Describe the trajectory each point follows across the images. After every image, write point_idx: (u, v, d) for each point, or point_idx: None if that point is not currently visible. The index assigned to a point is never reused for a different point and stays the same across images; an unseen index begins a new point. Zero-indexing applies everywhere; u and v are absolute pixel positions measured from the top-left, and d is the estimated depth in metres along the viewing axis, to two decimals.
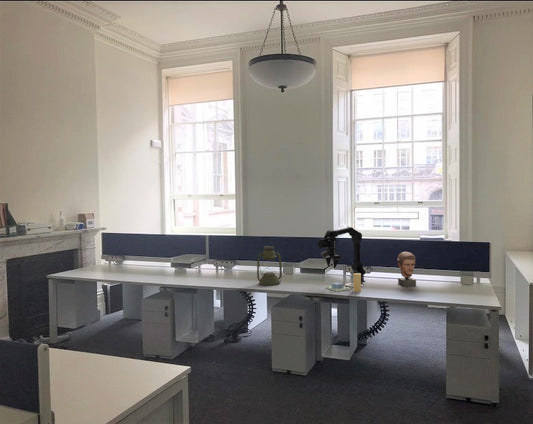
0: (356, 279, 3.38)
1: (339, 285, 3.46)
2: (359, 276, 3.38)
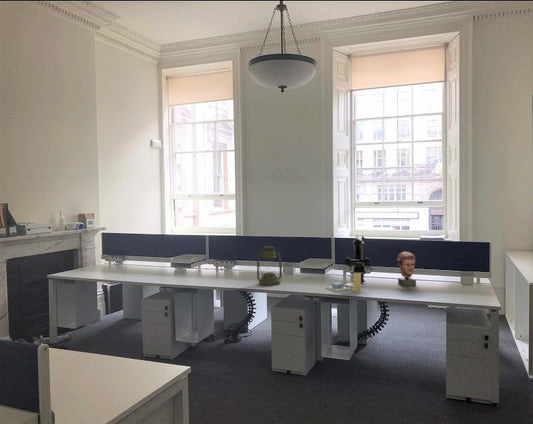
0: (356, 279, 3.38)
1: (339, 285, 3.46)
2: (359, 276, 3.38)
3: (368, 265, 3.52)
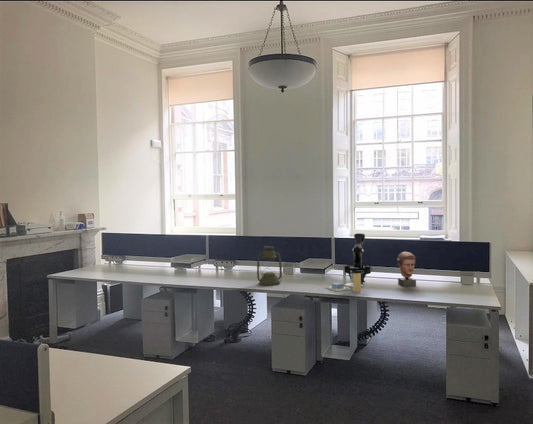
0: (356, 279, 3.38)
1: (339, 285, 3.46)
2: (359, 276, 3.38)
3: (368, 273, 3.45)
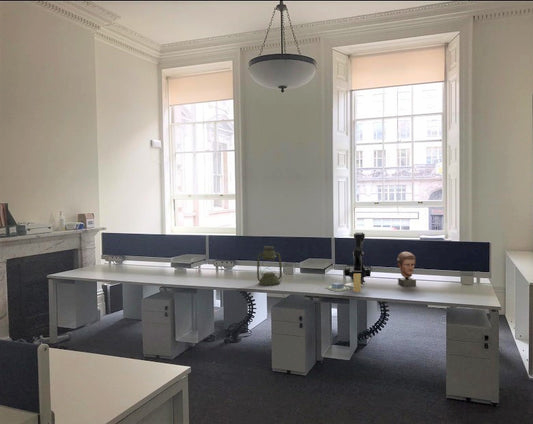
0: (356, 279, 3.38)
1: (339, 285, 3.46)
2: (359, 276, 3.38)
3: (365, 276, 3.44)
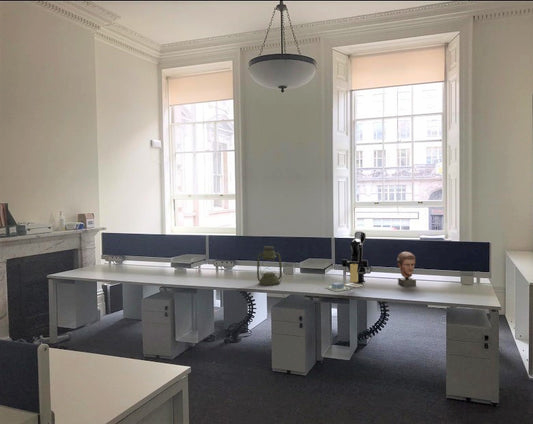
0: (353, 270, 3.39)
1: (339, 285, 3.46)
2: (356, 266, 3.38)
3: (362, 267, 3.44)
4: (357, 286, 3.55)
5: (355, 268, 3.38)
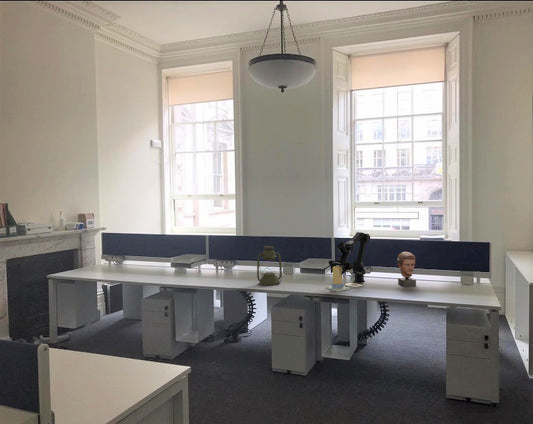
0: (335, 272, 3.47)
1: (339, 285, 3.46)
2: (337, 269, 3.45)
3: (349, 269, 3.47)
4: (357, 286, 3.55)
5: (337, 270, 3.46)
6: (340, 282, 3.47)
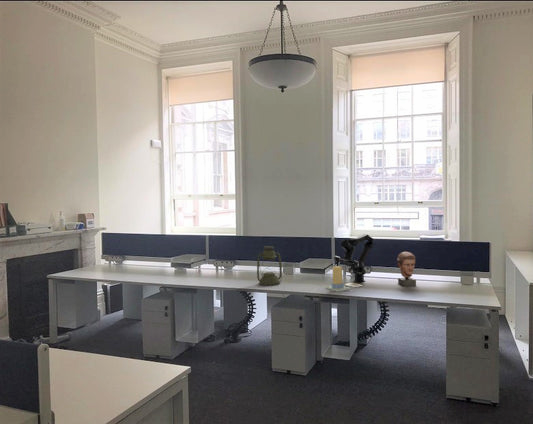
0: (335, 272, 3.47)
1: (339, 285, 3.46)
2: (337, 269, 3.45)
3: (356, 267, 3.57)
4: (357, 286, 3.55)
5: (337, 270, 3.46)
6: (340, 282, 3.47)
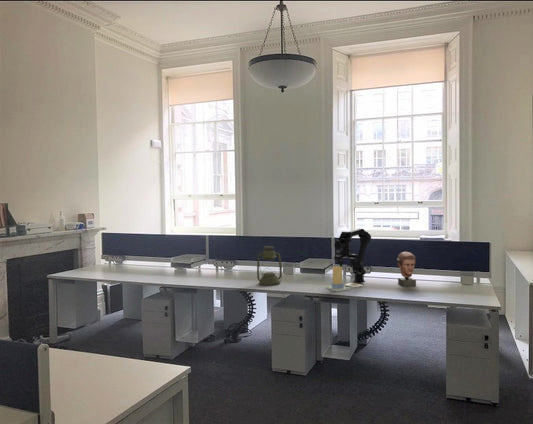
0: (335, 272, 3.47)
1: (339, 285, 3.46)
2: (337, 269, 3.45)
3: None
4: (357, 286, 3.55)
5: (337, 270, 3.46)
6: (340, 282, 3.47)
